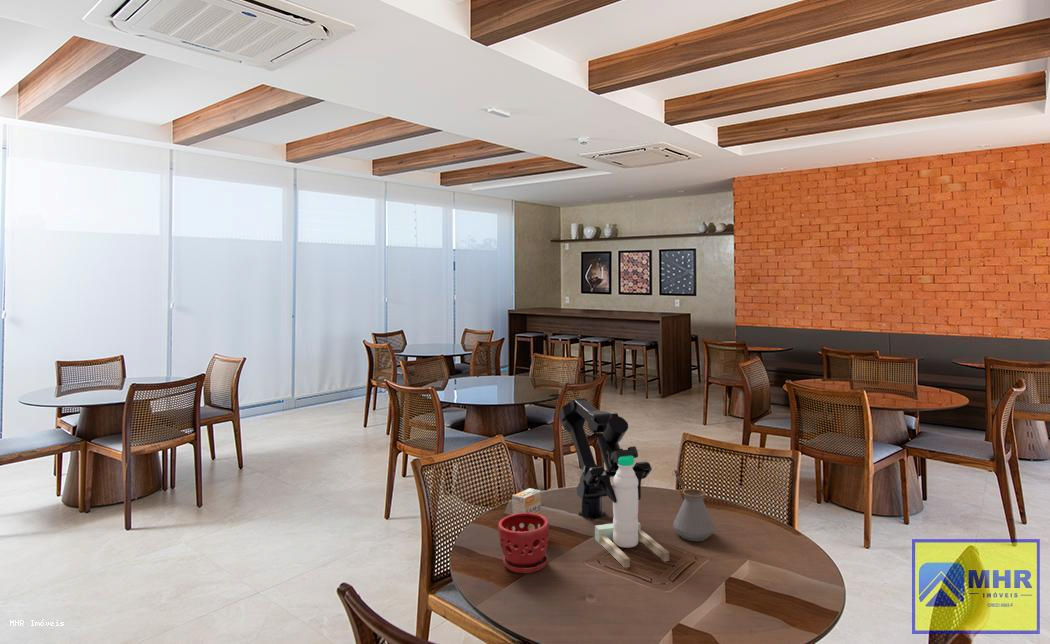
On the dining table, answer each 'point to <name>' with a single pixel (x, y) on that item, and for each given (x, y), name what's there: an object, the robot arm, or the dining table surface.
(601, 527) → the block
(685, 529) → the coffee pot
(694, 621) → the dining table surface
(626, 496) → the water bottle
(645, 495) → the dining table surface
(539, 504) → the supplement box
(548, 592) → the dining table surface
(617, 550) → the rails
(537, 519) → the plant pot
